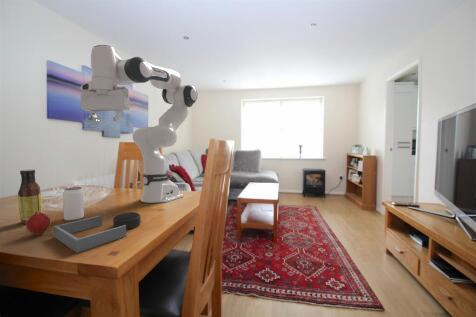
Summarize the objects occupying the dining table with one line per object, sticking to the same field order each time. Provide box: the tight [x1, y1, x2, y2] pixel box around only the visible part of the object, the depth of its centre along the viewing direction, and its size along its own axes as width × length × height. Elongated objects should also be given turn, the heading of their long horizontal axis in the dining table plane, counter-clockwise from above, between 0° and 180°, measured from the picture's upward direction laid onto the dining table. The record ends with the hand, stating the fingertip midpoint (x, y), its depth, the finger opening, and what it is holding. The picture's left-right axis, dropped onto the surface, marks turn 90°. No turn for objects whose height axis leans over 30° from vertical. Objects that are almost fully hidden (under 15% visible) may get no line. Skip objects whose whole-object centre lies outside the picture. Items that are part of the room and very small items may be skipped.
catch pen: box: [53, 214, 127, 254], centre depth 70 cm, size 14×18×4 cm
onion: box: [25, 211, 51, 236], centre depth 71 cm, size 6×6×8 cm
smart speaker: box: [112, 211, 142, 230], centre depth 80 cm, size 9×9×4 cm
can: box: [62, 186, 85, 222], centre depth 87 cm, size 6×6×12 cm
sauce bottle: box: [17, 168, 43, 225], centre depth 83 cm, size 7×6×20 cm
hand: (106, 121), depth 89 cm, fingers open, 8 cm apart
